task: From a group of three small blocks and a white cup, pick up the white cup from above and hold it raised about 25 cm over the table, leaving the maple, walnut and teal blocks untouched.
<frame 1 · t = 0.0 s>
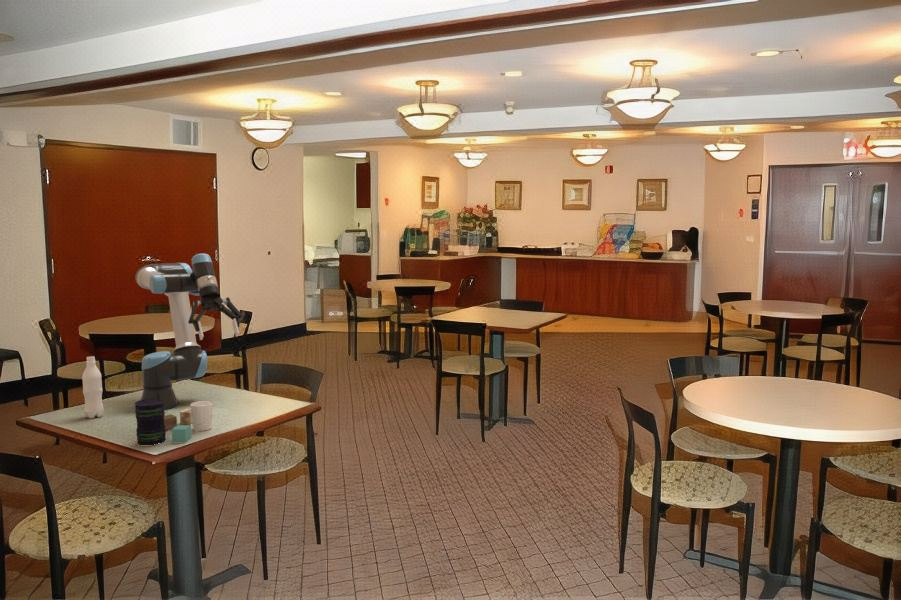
hand: (220, 336, 270), 36 cm above the table, tool tilted 35°, fingers open, 13 cm apart
walnut block: (167, 429, 272), on the table
maple block: (189, 422, 281), on the table
white cup: (202, 429, 273), on the table
teal block: (181, 440, 258), on the table
storage jar: (151, 442, 257), on the table
water bottle: (94, 417, 290), on the table
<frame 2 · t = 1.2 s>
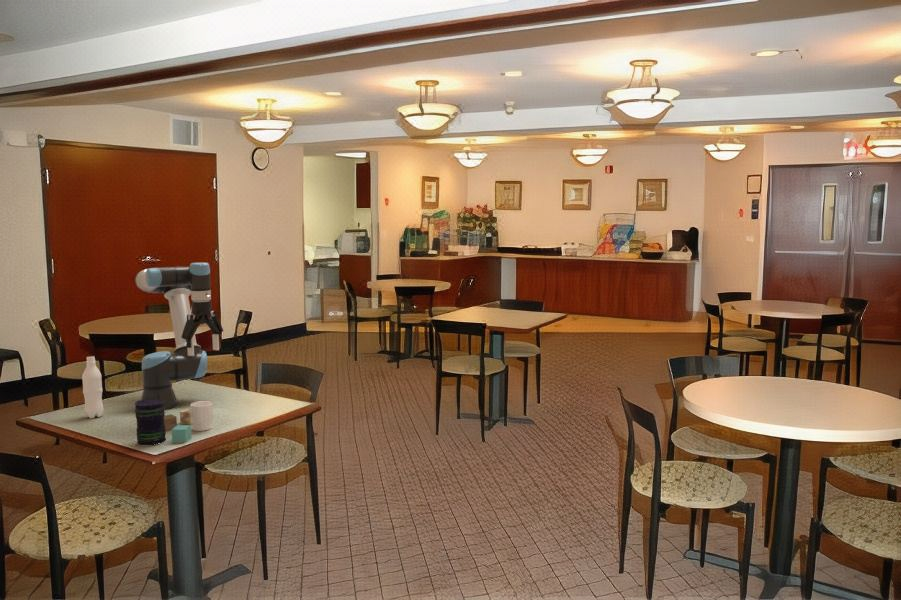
hand: (203, 352, 286), 27 cm above the table, tool pointing down, fingers open, 13 cm apart
nothing on the table moved.
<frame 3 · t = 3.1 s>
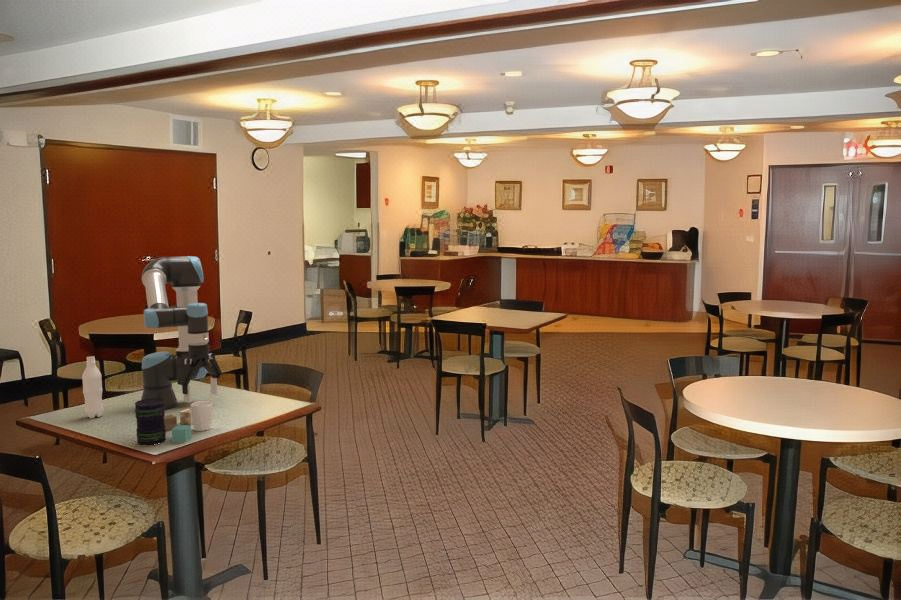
hand: (201, 398, 271), 12 cm above the table, tool pointing down, fingers open, 13 cm apart
nothing on the table moved.
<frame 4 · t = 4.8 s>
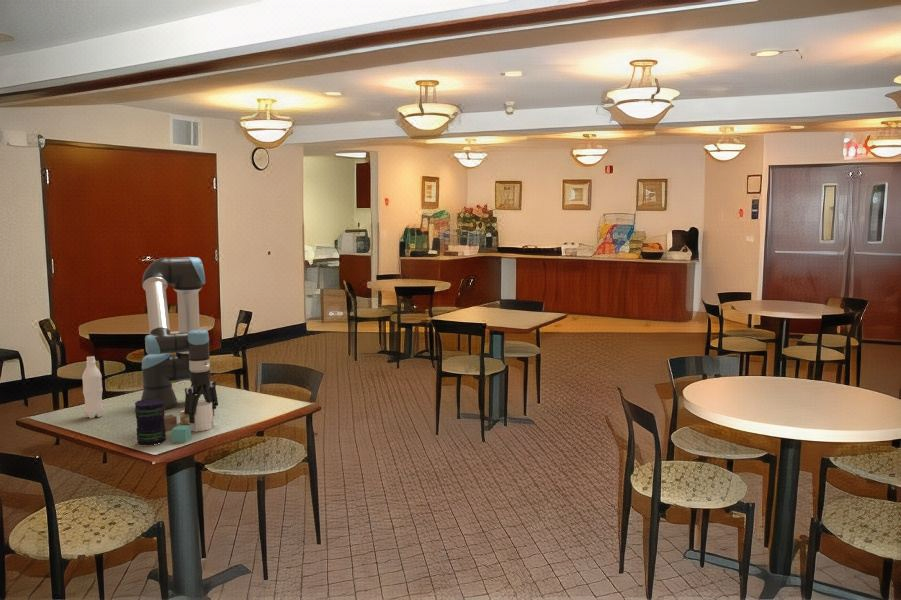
hand: (202, 428, 272), 0 cm above the table, tool pointing down, fingers closed on white cup, 8 cm apart
white cup: (202, 429, 273), on the table, touching gripper
everything else where it was.
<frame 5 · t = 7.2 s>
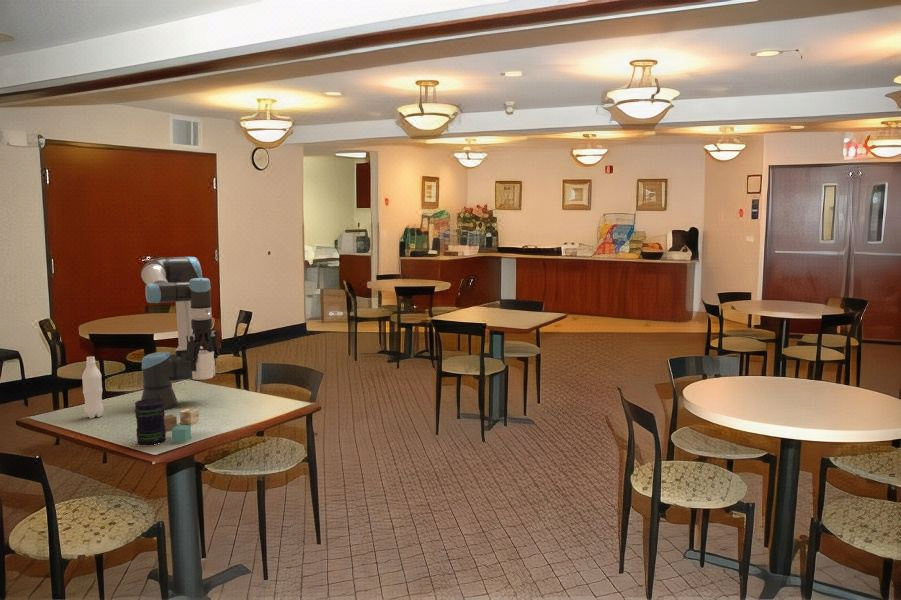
hand: (204, 376, 272), 20 cm above the table, tool pointing down, fingers closed on white cup, 8 cm apart
white cup: (204, 378, 272), point 20 cm above the table, touching gripper
everything else where it was.
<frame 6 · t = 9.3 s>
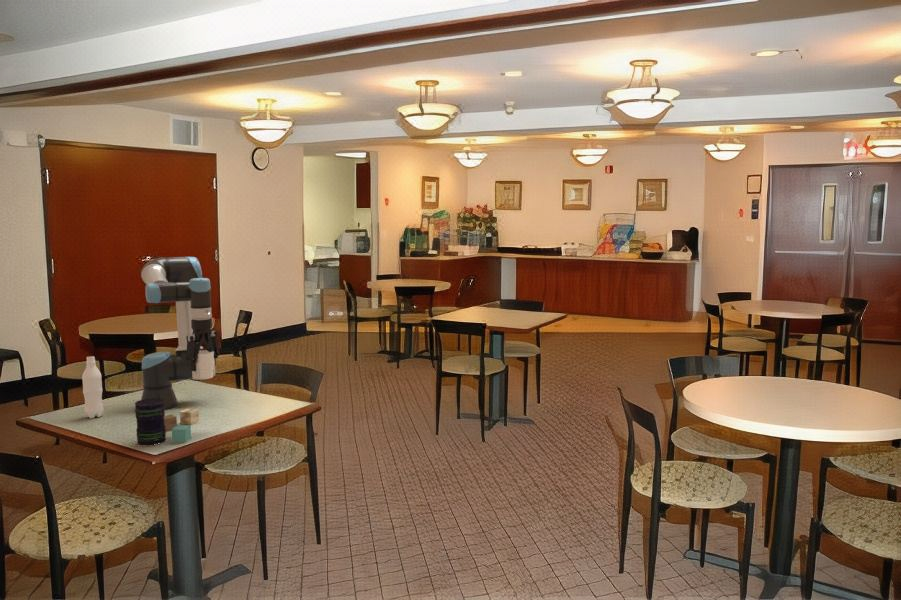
hand: (204, 376, 272), 20 cm above the table, tool pointing down, fingers closed on white cup, 8 cm apart
white cup: (204, 378, 272), point 20 cm above the table, touching gripper
everything else where it was.
at the end: the gripper is holding white cup; white cup point 19.6 cm above the table; teal block moved 0.1 cm from its start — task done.
